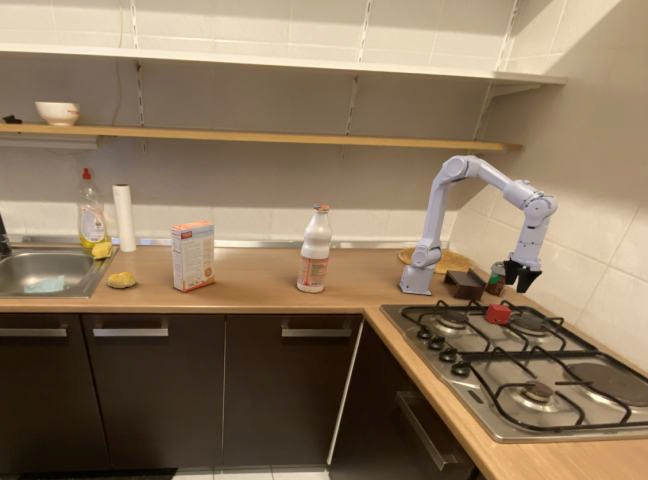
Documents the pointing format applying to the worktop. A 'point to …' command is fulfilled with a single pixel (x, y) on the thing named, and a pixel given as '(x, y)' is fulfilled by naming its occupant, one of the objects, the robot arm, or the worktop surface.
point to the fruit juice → (315, 251)
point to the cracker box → (193, 255)
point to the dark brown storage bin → (466, 284)
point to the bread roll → (121, 280)
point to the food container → (496, 279)
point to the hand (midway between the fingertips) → (514, 288)
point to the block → (498, 313)
